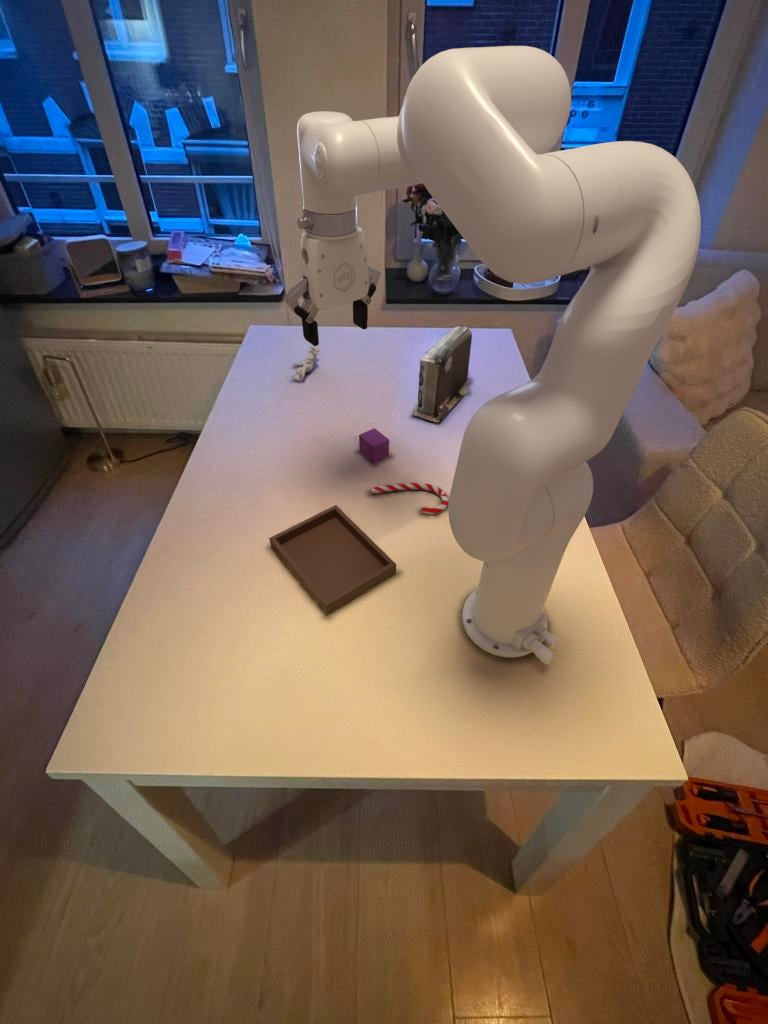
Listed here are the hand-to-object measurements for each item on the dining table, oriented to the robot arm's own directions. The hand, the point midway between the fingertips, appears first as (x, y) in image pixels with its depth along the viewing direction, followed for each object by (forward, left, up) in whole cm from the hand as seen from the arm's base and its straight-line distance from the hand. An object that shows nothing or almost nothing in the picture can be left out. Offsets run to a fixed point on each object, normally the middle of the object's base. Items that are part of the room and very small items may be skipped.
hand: (336, 334), depth 87 cm
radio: (+7, -33, -28) cm, 44 cm away
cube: (-1, -7, -28) cm, 29 cm away
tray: (-20, +16, -28) cm, 38 cm away
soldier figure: (+37, -14, -28) cm, 49 cm away
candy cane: (-16, -4, -28) cm, 33 cm away
